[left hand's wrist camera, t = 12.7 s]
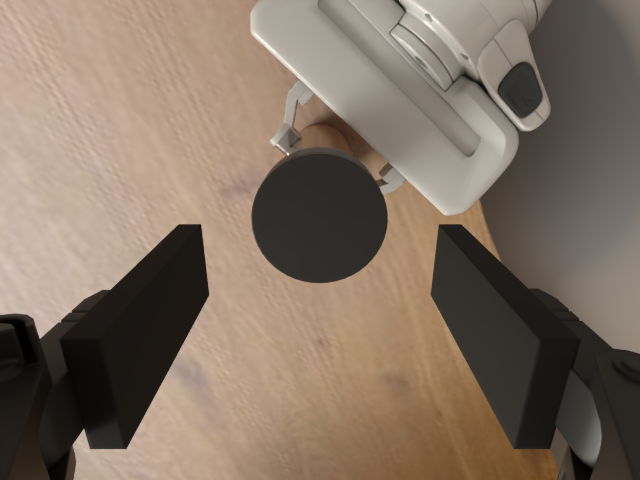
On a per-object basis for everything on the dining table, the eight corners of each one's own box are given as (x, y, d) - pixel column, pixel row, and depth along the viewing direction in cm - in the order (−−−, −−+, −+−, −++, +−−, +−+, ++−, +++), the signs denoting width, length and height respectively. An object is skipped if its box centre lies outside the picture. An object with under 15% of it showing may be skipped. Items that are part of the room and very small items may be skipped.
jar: (283, 133, 35) (244, 178, 17) (341, 116, 35) (363, 145, 17) (300, 189, 37) (281, 284, 19) (355, 174, 36) (389, 257, 19)
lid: (241, 166, 19) (231, 175, 17) (365, 131, 18) (370, 136, 16) (279, 276, 21) (275, 296, 19) (392, 248, 20) (399, 265, 18)
